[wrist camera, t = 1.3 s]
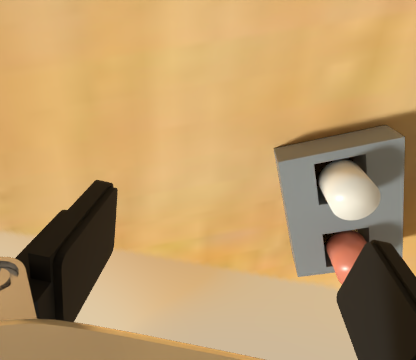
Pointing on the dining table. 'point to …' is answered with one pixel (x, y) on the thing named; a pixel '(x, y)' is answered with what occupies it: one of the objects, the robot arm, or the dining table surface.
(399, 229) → the panel
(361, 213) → the domed peg
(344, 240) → the red plug
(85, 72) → the dining table surface
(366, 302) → the robot arm
